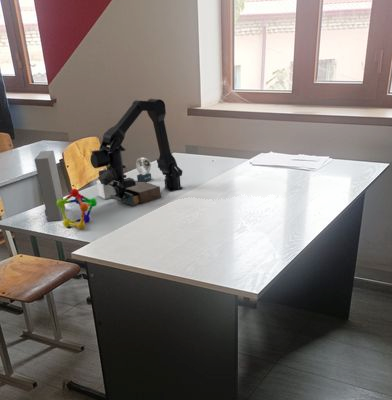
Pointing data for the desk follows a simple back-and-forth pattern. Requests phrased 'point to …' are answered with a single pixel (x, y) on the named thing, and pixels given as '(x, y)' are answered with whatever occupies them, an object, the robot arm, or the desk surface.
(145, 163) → the snow globe
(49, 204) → the tall grey pillar
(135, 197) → the drawer
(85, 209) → the educational toy
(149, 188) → the cabinet
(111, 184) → the robot arm
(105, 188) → the medicine bottle
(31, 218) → the desk surface
